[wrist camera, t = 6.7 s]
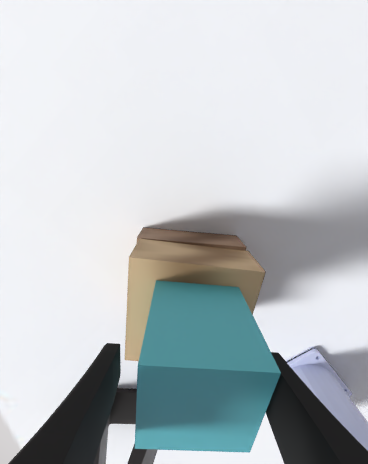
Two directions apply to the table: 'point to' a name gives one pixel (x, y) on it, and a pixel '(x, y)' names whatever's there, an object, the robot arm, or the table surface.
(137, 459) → the phone stand
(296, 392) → the robot arm
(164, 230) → the tower base
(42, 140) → the table surface
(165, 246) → the tower top
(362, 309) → the table surface
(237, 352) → the teal cube
